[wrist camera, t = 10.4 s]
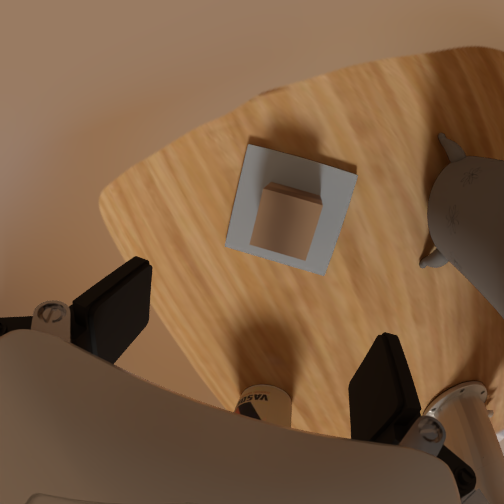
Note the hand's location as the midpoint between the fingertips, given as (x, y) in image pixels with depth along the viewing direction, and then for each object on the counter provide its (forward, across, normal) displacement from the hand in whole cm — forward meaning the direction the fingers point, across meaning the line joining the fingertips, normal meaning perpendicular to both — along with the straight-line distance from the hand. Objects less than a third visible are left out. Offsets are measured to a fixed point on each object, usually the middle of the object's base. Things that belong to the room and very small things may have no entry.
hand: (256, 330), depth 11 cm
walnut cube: (+19, 0, 0) cm, 19 cm away
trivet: (+20, 0, 0) cm, 20 cm away
